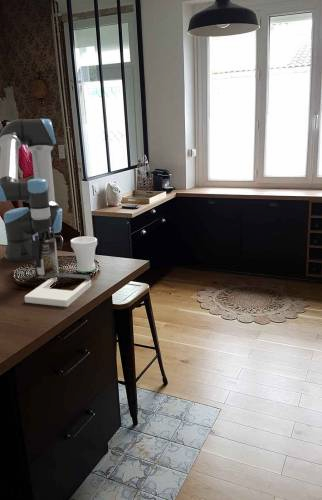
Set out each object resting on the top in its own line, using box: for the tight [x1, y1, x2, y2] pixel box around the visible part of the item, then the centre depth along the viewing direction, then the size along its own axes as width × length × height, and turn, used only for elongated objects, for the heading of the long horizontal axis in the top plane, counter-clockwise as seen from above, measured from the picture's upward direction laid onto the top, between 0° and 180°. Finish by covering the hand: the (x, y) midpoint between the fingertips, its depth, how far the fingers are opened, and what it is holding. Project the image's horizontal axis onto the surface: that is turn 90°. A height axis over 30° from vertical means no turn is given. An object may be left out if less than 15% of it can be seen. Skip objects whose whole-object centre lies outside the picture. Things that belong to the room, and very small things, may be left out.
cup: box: [70, 235, 98, 274], centre depth 182 cm, size 11×11×14 cm
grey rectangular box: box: [33, 237, 60, 279], centre depth 176 cm, size 9×6×16 cm
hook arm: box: [52, 272, 91, 281], centre depth 169 cm, size 1×16×4 cm, turn 74°
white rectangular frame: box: [24, 277, 92, 308], centre depth 161 cm, size 20×17×2 cm
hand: (47, 270), depth 178 cm, fingers closed on grey rectangular box, 8 cm apart
